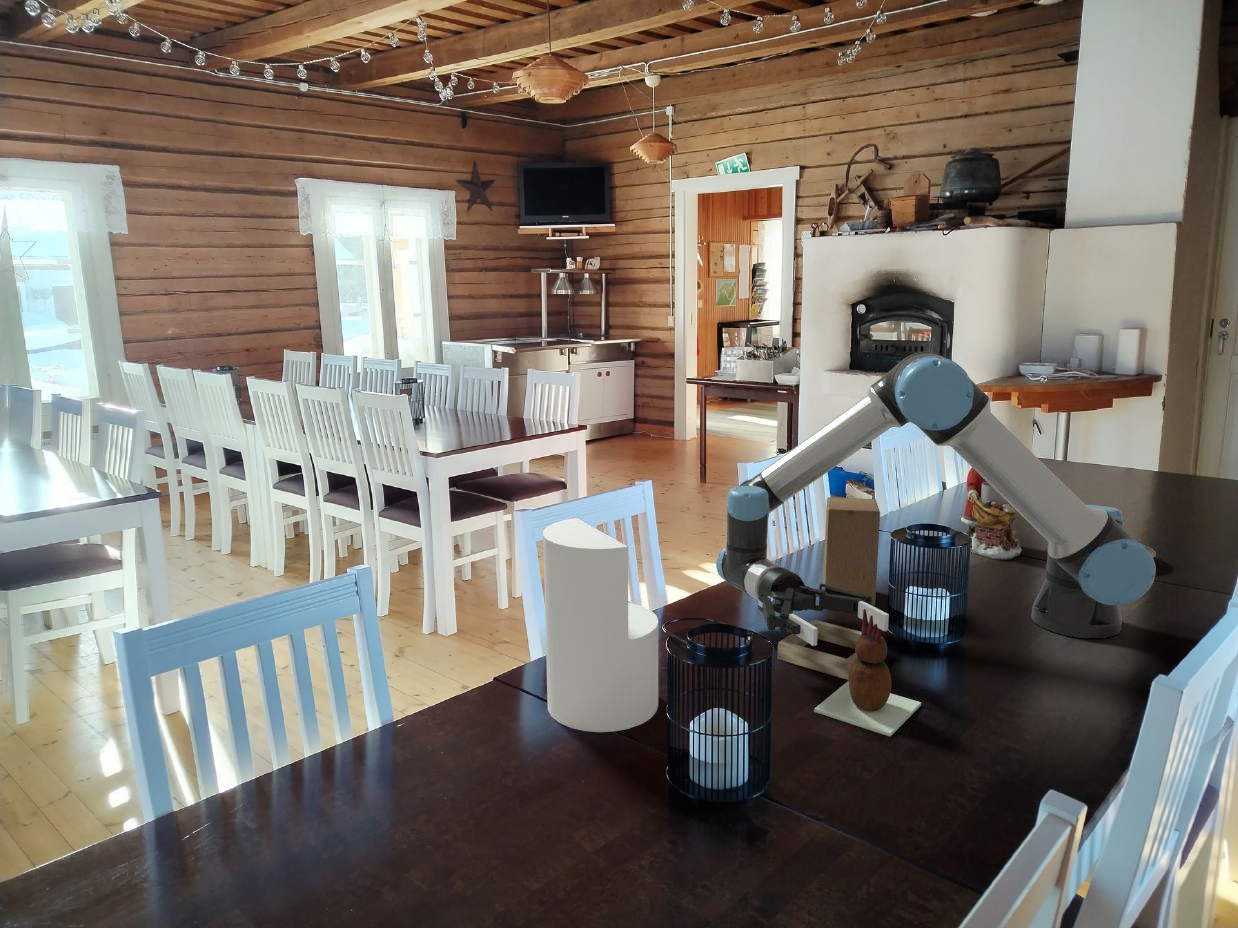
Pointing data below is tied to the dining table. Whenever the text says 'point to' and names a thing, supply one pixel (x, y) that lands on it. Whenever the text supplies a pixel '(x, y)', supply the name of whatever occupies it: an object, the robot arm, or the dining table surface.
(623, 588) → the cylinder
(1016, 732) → the dining table surface
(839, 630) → the pale wood square frame
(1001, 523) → the santa figurine
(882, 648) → the wooden figurine
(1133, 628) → the dining table surface
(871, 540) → the wooden block
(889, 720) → the sage mat
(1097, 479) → the dining table surface
